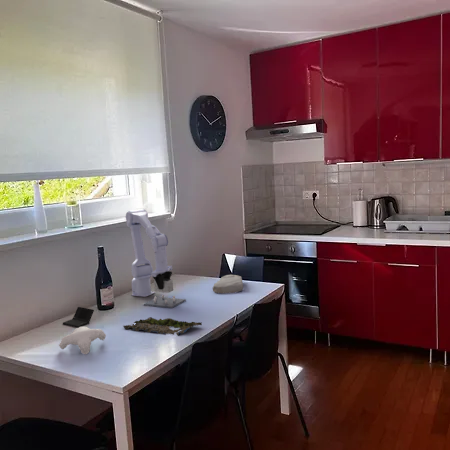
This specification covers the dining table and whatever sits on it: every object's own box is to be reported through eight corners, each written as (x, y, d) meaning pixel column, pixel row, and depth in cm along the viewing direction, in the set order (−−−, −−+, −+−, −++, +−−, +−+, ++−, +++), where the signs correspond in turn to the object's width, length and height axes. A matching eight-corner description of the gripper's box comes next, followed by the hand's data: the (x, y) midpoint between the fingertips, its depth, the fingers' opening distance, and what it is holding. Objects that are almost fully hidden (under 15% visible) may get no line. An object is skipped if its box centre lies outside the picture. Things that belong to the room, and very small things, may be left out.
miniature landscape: (203, 326, 189) (202, 319, 188) (189, 338, 178) (188, 331, 178) (138, 321, 203) (137, 315, 202) (121, 332, 192) (120, 325, 192)
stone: (243, 292, 236) (242, 282, 235) (213, 294, 235) (212, 284, 235) (241, 282, 257) (240, 273, 256) (213, 284, 256) (212, 275, 256)
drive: (154, 291, 225) (153, 280, 224) (159, 289, 228) (158, 278, 227) (168, 292, 221) (167, 281, 220) (173, 290, 224) (172, 279, 224)
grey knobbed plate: (143, 305, 224) (143, 299, 224) (158, 298, 234) (158, 292, 234) (171, 308, 216) (171, 302, 216) (185, 300, 227) (185, 295, 226)
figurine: (59, 354, 180) (61, 361, 163) (56, 329, 180) (57, 334, 164) (105, 344, 186) (111, 349, 169) (101, 320, 187) (107, 323, 170)
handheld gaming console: (58, 322, 202) (69, 301, 206) (68, 327, 208) (78, 306, 212) (78, 328, 197) (89, 306, 201) (88, 333, 203) (98, 312, 207)
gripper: (159, 263, 214) (161, 292, 216) (176, 257, 227) (179, 284, 229) (146, 263, 218) (149, 291, 219) (164, 256, 230) (167, 283, 232)
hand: (163, 288), depth 224 cm, fingers closed on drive, 4 cm apart
